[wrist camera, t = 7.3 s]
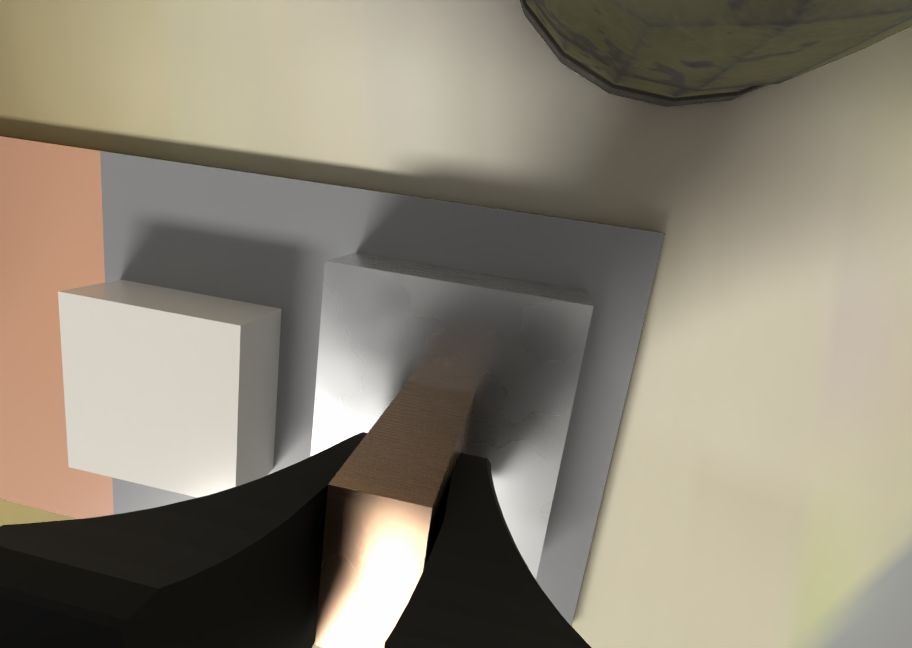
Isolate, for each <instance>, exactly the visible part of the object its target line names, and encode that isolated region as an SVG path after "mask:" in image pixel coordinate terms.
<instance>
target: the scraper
mask: <svg viewBox="0 0 912 648" xmlns="http://www.w3.org/2000/svg"><path fill="white" fill-rule="evenodd" d="M593 307H594V306H593V303H592V301H591V299H590V296H589V294H588V291H587V290H584V289H578V288H572V287H566V286H560V285H554V284H548V283H541V282H535V281H529V280H523V279H517V278H511V277H505V276H499V275H493V274H486V273H480V272H474V271H468V270H462V269H456V268H450V267H444V266H438V265H431V264H425V263H419V262H413V261H407V260H401V259H395V258H389V257H383V256H376V255H370V254H364V253H358V252H355V253H351V254H348V255H344V256H341V257H337V258H334V259H330V260H327V261H325V265H324V279H323V292H322V306H321V320H320V334H319V347H318V361H317V375H316V389H315V402H314V416H313V430H312V444H311V456H313V455H315V454H317V453H319V452H321V451H323V450H325V449H327V448H329V447H331V446H334V445H336V444H338V443H340V442H342V441H344V440H346V439H348V438H350V437H352V436H354V435H357V434H359V433H362V432H364V433H367V434H366V436H365V437H364V438H363V440H362V441H361V442H360V444H359V445H358V446H357V447H356V449H355V450H354V451H353V453H352V454H351V455H350V457H349V458H348V459H347V461H346V462H345V463H344V464H343V466H342V467H341V468H340V470H339V471H338V472H337V474H336V475H335V476H334V477H333V479H332V480H331V481H330V483H329V484H328V493H327V505H326V517H325V529H324V541H323V553H322V565H321V577H320V588H319V600H318V612H317V624H316V636H315V645H317V646H321V647H325V648H384V645H385V642H386V640H387V639H388V637H389V636H390V634H391V632H392V631H393V629H394V627H395V625H396V623H397V622H398V620H399V618H400V616H401V615H402V613H403V611H404V609H405V607H406V606H407V604H408V602H409V600H410V598H411V596H412V594H413V592H414V589H415V587H416V585H417V583H418V581H419V579H420V577H421V575H422V573H423V570H424V568H425V566H426V563H427V561H428V559H429V556H430V554H431V552H432V549H433V547H434V544H435V542H436V539H437V537H438V534H439V532H440V529H441V527H442V523H443V519H444V516H445V511H446V505H447V500H448V494H449V488H450V482H451V476H452V471H453V467H454V465H455V463H456V461H457V459H458V457H459V455H460V454H461V453H465V454H469V455H474V456H479V457H484V458H488V460H489V461H490V463H491V473H492V479H493V484H494V488H495V492H496V495H497V499H498V502H499V505H500V508H501V510H502V513H503V516H504V519H505V521H506V524H507V526H508V528H509V531H510V533H511V535H512V537H513V540H514V542H515V544H516V546H517V548H518V550H519V552H520V554H521V556H522V557H523V559H524V561H525V563H526V564H527V566H528V568H529V570H530V571H531V573H532V575H533V576H534V578H535V579H536V577H537V572H538V568H539V563H540V558H541V553H542V549H543V544H544V539H545V534H546V530H547V525H548V520H549V515H550V511H551V506H552V501H553V497H554V492H555V487H556V482H557V478H558V473H559V468H560V463H561V459H562V454H563V449H564V444H565V440H566V435H567V430H568V425H569V421H570V416H571V411H572V406H573V402H574V397H575V392H576V388H577V383H578V378H579V373H580V369H581V364H582V359H583V354H584V350H585V345H586V340H587V335H588V331H589V326H590V321H591V316H592V312H593Z"/></svg>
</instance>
